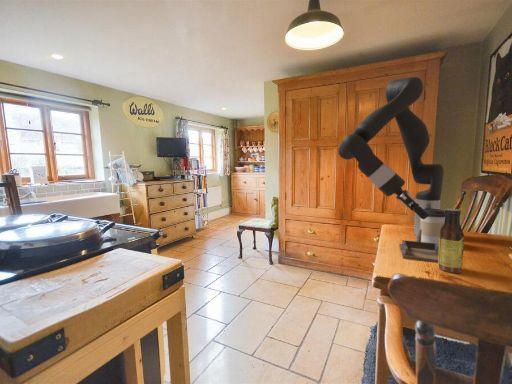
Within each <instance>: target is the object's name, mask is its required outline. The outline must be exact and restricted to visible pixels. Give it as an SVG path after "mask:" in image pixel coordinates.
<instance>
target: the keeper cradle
mask: <svg viewBox="0 0 512 384" xmlns="http://www.w3.org/2000/svg"><path fill="white" fill-rule="evenodd" d="M421 233H422V230H421V229H417V236H416V235H415V236H416V239H415V240H404V239H403V240H401V241H402V242H401V243H399V245H398V246H399V250H400V253H401V256H402V259H405V260H412V261H413V260H414V261H422V262H427V263H428V262H430V263H436V264H437V263H438V255H439V245H438V244H437V243H427V242H421Z"/></svg>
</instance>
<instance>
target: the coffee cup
mask: <svg viewBox="0 0 512 384" xmlns="http://www.w3.org/2000/svg"><path fill="white" fill-rule="evenodd" d="M423 210H424V211H425V212H426V213H427V214H428V215H429V216H428V217H427V218H425V219H422V218H421V219H420V228H421V230H422V233H421V242H427V243H437V244H438V245H439V237H440V229H441V227H442V226H443V225H444V223H445V222H444V221H445V213H444V211H445V210H444V209H441V208H440V209H432V208H426V209H423Z"/></svg>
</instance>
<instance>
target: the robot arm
mask: <svg viewBox="0 0 512 384" xmlns="http://www.w3.org/2000/svg"><path fill="white" fill-rule="evenodd" d="M423 91H424V83H423V81H422V79H421V78H420V77H418V76H409V77H403V78H402V77H401V78H397V79H393V80H391V81H389V82H388V83H387V85H386V87H385V99H386V102H387V103H386V104H384V105H382V106H381V107H379V108H377V109H375V110H373V111H372V112H370V113H369V114H368V115H367V116H366V117H365V118H364V119H363V120H362V121H361V122H360V123H359V124H358V125H357V126H356V128H355V129H354V131H353V132H352V133H351V134H347V136H345V137H344V139H343V140H342V141H341V143H340V145H339V147H338V149H337V150H338V155H339V156H340V157H341V159H343V160H348V161H349V160H353V159H355V161H357V168H358V169H359V171H360V172H361V173H362V174H364V176H365V177H367V178H368V180H369V181H370V182H371V183H372V184H373V185H374V186H375V187H376V188H378V190H379V191H380V192H381V193H383V194H384V196H385V197H391V196H392V195H394V194H395V195H396V196H395V198H396V199H397V200H398V201H399V202H400V203H402V204H403V205H404V206H405V207H406V208H409V209H410V211H412V212H414V226H413V227H414V228H413V235H414V236H417V229H421V228H420V219H421V218H422V219H425V218H427V217H428V216H429V215H428V214H427V213H426V212H425V211H424V210H423V209H426V208H432V209H440V210H441V196H442V195H441V194H442V188H443V180H444V171H445V170H444V167H443V166H442V164H440V163H423V161H422V157H423V155H424V153H425V152H426V150H427V149H428V146H429V145H430V141H431V139H430V135H429V134H430V133H429V131H428V128H427V125H426V124H425V122H424V121H423V120H422V119H421V118H419V116H417V115H416V114H415V113H414V112H413V111H412V110H411V109H410V107H411V106H412V105H413V104H415V103H416V102H417V101H418V99H420V97H421V96H422V94H423ZM394 119H395V121H396V124H397V126H398V129H399V133H400V136H401V140H402V143H403V145H404V147H405V150H406V153H407V156H408V160H409V165H410V170H411V174H412V178H413V180H414V183H416V184H417V185H418V184H419V185H429V188H428V189H426V190H422V191H418V192H416V194H415V198H414V197H413V196H412V195H411V193H410V192H409V191H408V190H407V189H406V188H405V189H403V188H402V187H404V185H405V184H406V181H405V180H404V179H403V178H402V177H401V176H400V175H399V174H398V173H397V172H396V171H395V170H393V169H392V168H391V167H390V166H388V165H387V164H386V163H385V162H383V161H382V160H381V158H379V157H378V156H376V154H375V153H374V151H373V150H372V148H371V146H370V145H369V144H368V143H370V141H371V140H373V139H374V138H375V137H376V136H377V135H378V134H379V133H380V132H381V130H383V128H384V127H385V126H386V125H387V124H388V123H390V122H391V121H392V120H394Z"/></svg>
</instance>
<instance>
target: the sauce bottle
mask: <svg viewBox="0 0 512 384" xmlns="http://www.w3.org/2000/svg"><path fill="white" fill-rule="evenodd" d="M443 211H444V213H445V221H444V222H445V223H444V225H443V226H442V227H441V229H440V237H439V255H438V268H439V270H441V271H443V272H446V273H451V274H459V273H461V272H462V270H463V266H464V265H463V264H464V263H463V261H464V245H465V243H464V242H465V236H464V231H463V228H462V225H461V222H460V220H461V219H460V218H461V214H462V213H461V212H462V211H461V209H458V208H445V209H444V210H443Z"/></svg>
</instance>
